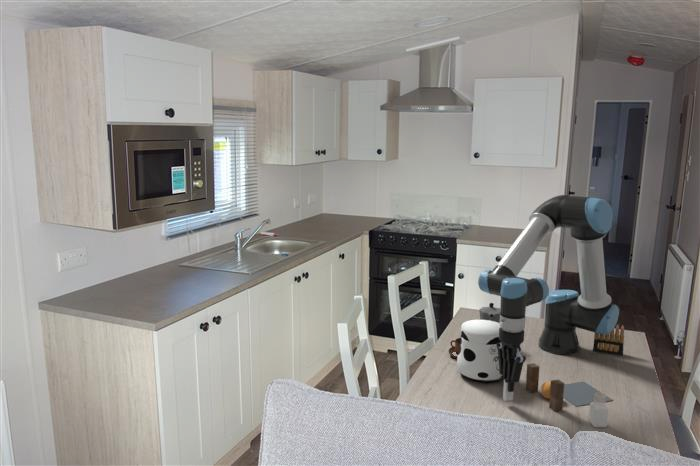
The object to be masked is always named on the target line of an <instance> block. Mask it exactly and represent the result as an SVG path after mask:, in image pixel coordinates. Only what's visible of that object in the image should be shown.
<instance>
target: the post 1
mask: <svg viewBox="0 0 700 466" xmlns="http://www.w3.org/2000/svg"><path fill="white" fill-rule="evenodd" d="M525 378H526V379H525V390H526V391H527V392H528V393H530V394H533V393H539V383H540V382H539V381H540V379H539V378H540V365H538V364H536V363H534V362H533V363H532V362H531V363H528V364H526V377H525Z"/></svg>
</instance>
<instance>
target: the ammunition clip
mask: <svg viewBox="0 0 700 466" xmlns="http://www.w3.org/2000/svg"><path fill="white" fill-rule="evenodd" d="M593 337H594V338H593V347H592V352H595V353H602V354H607V355H615V356H624V345H625V343H624V342H625V326H624V325H623V324H622V326H621V327H620V325H619V324H616V326H615V328H614V329H613V330H612V331H611V332H610V333H609V334H607V335H604V334H599V333H595V332H594V336H593Z"/></svg>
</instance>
